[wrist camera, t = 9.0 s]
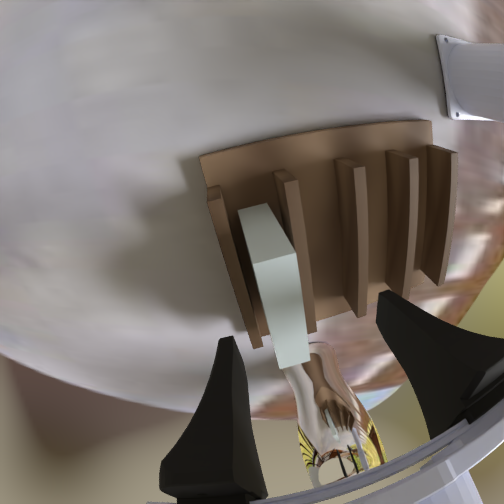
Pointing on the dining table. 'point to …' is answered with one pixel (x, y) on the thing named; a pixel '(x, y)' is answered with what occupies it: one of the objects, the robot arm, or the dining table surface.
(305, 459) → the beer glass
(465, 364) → the robot arm
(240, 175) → the rack
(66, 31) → the dining table surface
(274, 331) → the tile
